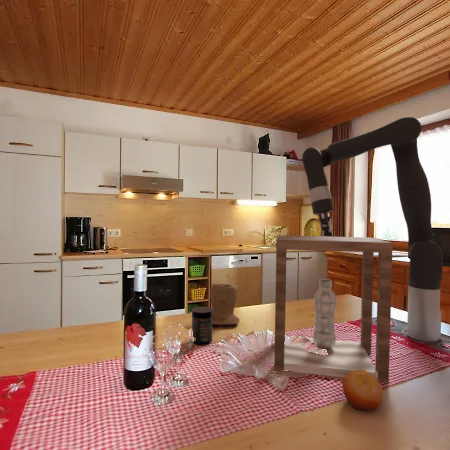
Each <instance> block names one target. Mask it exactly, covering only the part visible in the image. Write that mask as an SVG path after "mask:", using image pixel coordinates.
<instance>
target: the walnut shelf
mask: <svg viewBox="0 0 450 450" xmlns="http://www.w3.org/2000/svg"><path fill="white" fill-rule="evenodd" d="M275 247H276V248H275V249H276V250H275V253H276V254H275V255H276V256H275V259H276V262H275V302H274V303H275V309H274V312H275V313H274V314H275V315H274V316H275V317H274V356H273V357H274V359H273V361H274V365H273V367H274V369H273V370H274V371H278V370H288V371H293V372H292V373H298V374H309V375H317V376H318V375H319V376H327V377H336V378H337V377H338V378H344V377H345V376H346V374H348V373H349V372H351V371H354V370H365V371H367V372H368V373H369V374H371V375H373V376H375V377H376V378H377V379H378V381H379V382H385V383H389V382H390V349H391V346H390V345H391V319H392V317H391V315H392V314H391V312H392V311H391V310H392V309H391V307H392V281H393V280H392V279H393V277H392V276H393V275H392V272H393V271H392V270H393V242H392V241H387V240H383V239H381V238H376V237H375V238H374V237H365V236H363V237H361V236H360V237H358V236H357V237H356V236H333V237H327V236H324V235H323V236H322V235H321V236H320V235H319V236H318V235H317V236H316V235H285V234H284V235H283V234H282V235H279V234H278V236H277V238H276V246H275ZM287 250H288V251H289V250H291V251H317V252H321V251H324V252H350V253H354V252H355V253H362V265H361V266H362V271H361V272H362V273H361V276H362V278H361V305H360V306H361V309H360V311H361V313H360V314H361V315H360V341H353V340H352V341H351V340H350V341H349V340H337V339H336V342H335V346H334V347H333V348H332V349H326V350H327V353H328V355H325V356H324V355H320V354H316V353H313V352H308V351H307V350H305V349H302V348H300V347H301V346H302V344H304V342H300V343H296V344H293V345H288V344H285V345H284V342H285V336H286V308H287V307H286V299H287V295H286V294H287V291H286V290H287V253H288V252H287ZM374 253H378V255H377V256H378V259H377V260H378V261H377V262H378V263H377V291H376V292H377V295H376V296H377V297H376V330H375V331H376V339H375V340H376V341H375V365H374V363H373V362H372V360H371V358H370V356H369V355H368V354H369V353H370V354H371V353H372V333H373V331H372V329H373V293H374V292H373V290H374V289H373V288H374V285H373V284H374V259H375V258H374V256H375V255H374ZM287 336H288V337H290V338H296V337H297V336H290V335H287ZM306 338H307V339H309V340H310V341H312V342H313V343H314V341H313V337H306ZM288 371H287V372H288Z"/></svg>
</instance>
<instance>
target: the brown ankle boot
mask: <svg viewBox="0 0 450 450" xmlns="http://www.w3.org/2000/svg"><path fill="white" fill-rule="evenodd" d="M238 290H239V289H238V287H237V285H234V284H230V283H229V284H228V283H212V284H211V286H210V291H209V296H210V303H211V304H210V305H211V308H212V309H213V319H212V326H213V325H214V326H217V325H218V326H219V325H220V326H224V325H225V326H229V325H238V324H239V323H240V318H239V317H238V316H236V315H235V314H234V312H235V307H236V304H237V301H238V294H239V293H238Z"/></svg>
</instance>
